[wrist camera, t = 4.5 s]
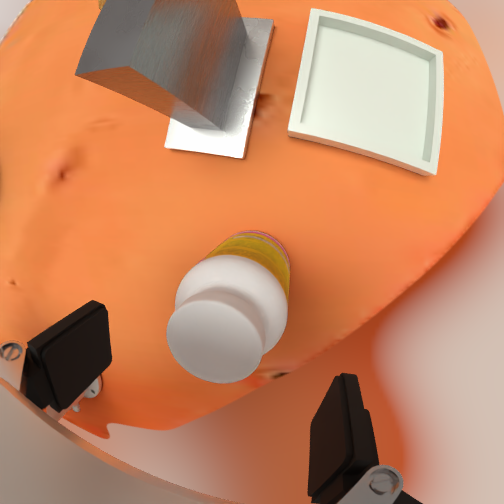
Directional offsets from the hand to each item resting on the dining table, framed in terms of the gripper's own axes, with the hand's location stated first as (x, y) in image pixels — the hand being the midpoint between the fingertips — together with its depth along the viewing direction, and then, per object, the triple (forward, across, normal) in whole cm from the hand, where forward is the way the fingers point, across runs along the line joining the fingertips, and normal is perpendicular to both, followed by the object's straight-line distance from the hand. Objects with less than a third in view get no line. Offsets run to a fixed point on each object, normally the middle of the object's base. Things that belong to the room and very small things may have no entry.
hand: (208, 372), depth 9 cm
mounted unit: (+15, +7, -15) cm, 23 cm away
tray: (+16, -6, -17) cm, 24 cm away
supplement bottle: (+15, +1, +1) cm, 15 cm away
